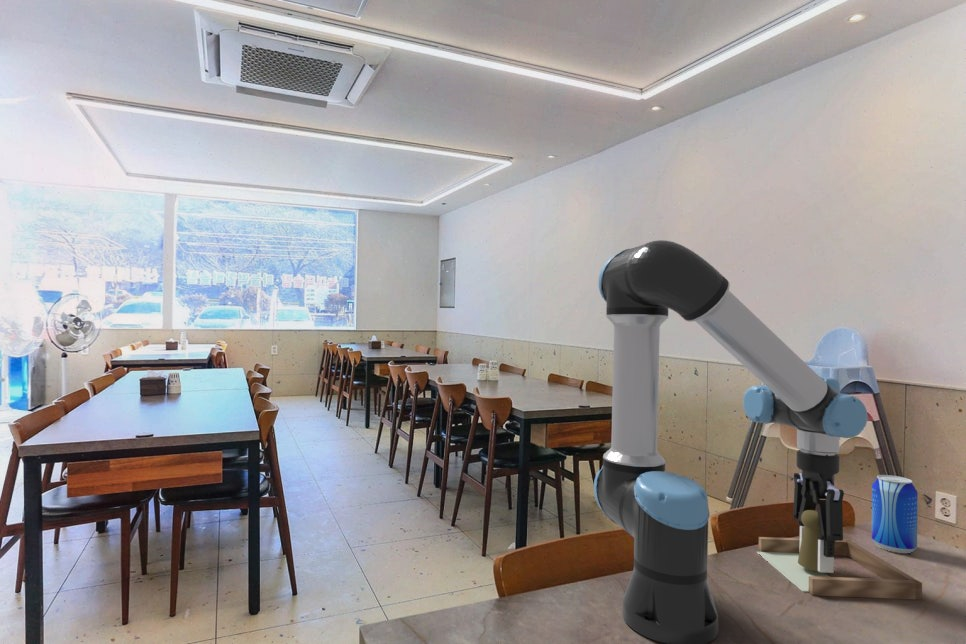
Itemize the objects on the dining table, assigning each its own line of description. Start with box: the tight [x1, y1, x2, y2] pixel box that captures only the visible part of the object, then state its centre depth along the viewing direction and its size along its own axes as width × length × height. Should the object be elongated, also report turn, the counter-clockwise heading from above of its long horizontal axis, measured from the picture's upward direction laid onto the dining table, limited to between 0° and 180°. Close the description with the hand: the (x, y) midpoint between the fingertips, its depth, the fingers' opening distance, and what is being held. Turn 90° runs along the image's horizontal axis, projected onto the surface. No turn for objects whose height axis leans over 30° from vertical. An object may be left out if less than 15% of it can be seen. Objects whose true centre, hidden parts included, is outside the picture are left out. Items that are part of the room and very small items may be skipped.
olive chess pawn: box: [798, 509, 827, 571], centre depth 111 cm, size 6×6×11 cm
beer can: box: [871, 474, 919, 554], centre depth 125 cm, size 8×8×16 cm
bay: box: [758, 536, 923, 601], centre depth 111 cm, size 20×21×3 cm
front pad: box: [756, 551, 831, 593], centre depth 111 cm, size 9×18×1 cm, turn 178°
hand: (815, 564), depth 111 cm, fingers closed on olive chess pawn, 6 cm apart
